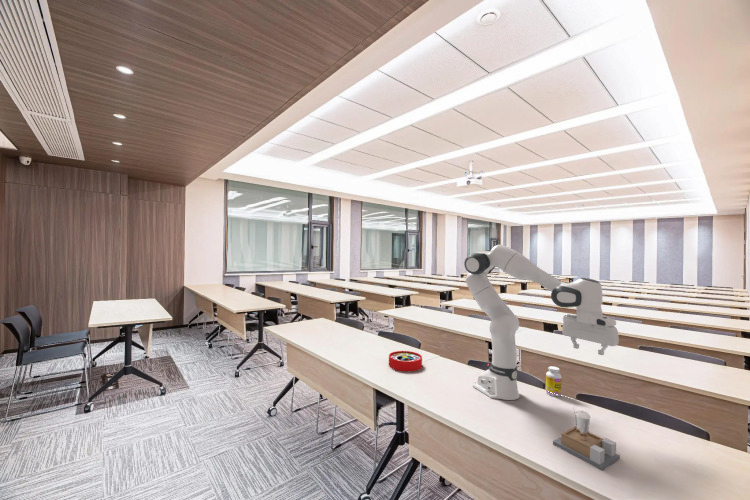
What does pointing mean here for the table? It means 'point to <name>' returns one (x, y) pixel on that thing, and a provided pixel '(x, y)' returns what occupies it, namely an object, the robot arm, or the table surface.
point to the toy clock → (405, 361)
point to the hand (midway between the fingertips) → (588, 351)
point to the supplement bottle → (553, 381)
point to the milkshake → (582, 424)
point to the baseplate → (589, 448)
